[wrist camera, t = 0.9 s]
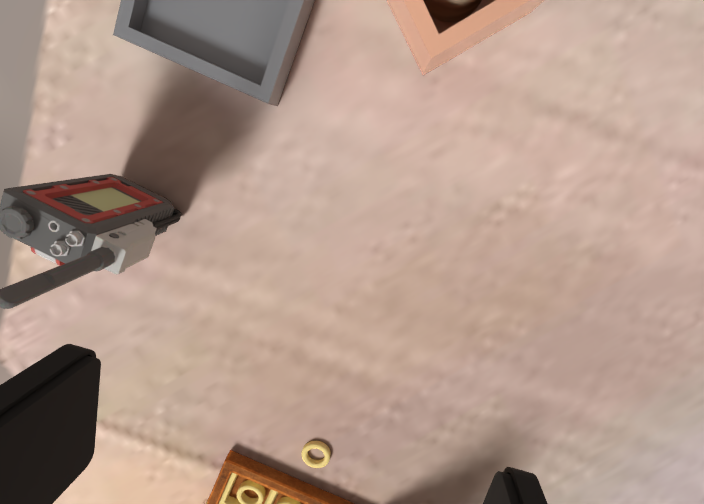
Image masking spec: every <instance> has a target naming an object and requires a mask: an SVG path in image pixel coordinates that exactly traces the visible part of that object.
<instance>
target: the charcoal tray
mask: <svg viewBox="0 0 704 504" xmlns="http://www.w3.org/2000/svg"><path fill="white" fill-rule="evenodd" d="M314 1H315V0H121V3H120V7H119V12H118V16H117V20H116V25H115V29H114V33H113V35H115V36H117V37H119V38H121V39H124V40H126V41H128V42H130V43H133V44H135V45H137V46H139V47H142V48H144V49H146V50H148V51H151V52H153V53H155V54H157V55H160V56H162V57H164V58H166V59H169V60H171V61H173V62H175V63H178V64H180V65H182V66H184V67H187V68H189V69H191V70H193V71H196V72H198V73H200V74H202V75H205V76H207V77H209V78H211V79H214V80H216V81H218V82H221V83H223V84H225V85H227V86H230V87H232V88H234V89H236V90H239V91H241V92H243V93H245V94H248V95H250V96H252V97H254V98H257V99H259V100H261V101H263V102H266V103H268V104H272V105H276V106H278V103H279V100H280V98H281V95H282V92H283V89H284V86H285V83H286V80H287V78H288V75H289V72H290V69H291V66H292V63H293V61H294V58H295V55H296V52H297V49H298V46H299V44H300V41H301V38H302V35H303V32H304V29H305V26H306V24H307V21H308V18H309V15H310V12H311V9H312V7H313V4H314Z"/></svg>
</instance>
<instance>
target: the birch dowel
mask: <svg viewBox="0 0 704 504" xmlns="http://www.w3.org/2000/svg"><path fill="white" fill-rule="evenodd" d="M423 1H424V3H425V5H426V8H427V10H428V12H429V14H430V16H432V17H433V18H435V19H437V20H440V21H444V22H454V21H458V20H461V19H463V18H465V17H467V16H468V15H470V14H471V13H472V12H473V11H474V10H475V9H476V8H477V7H478V5H479V4H480V3H481V1H482V0H423Z"/></svg>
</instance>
